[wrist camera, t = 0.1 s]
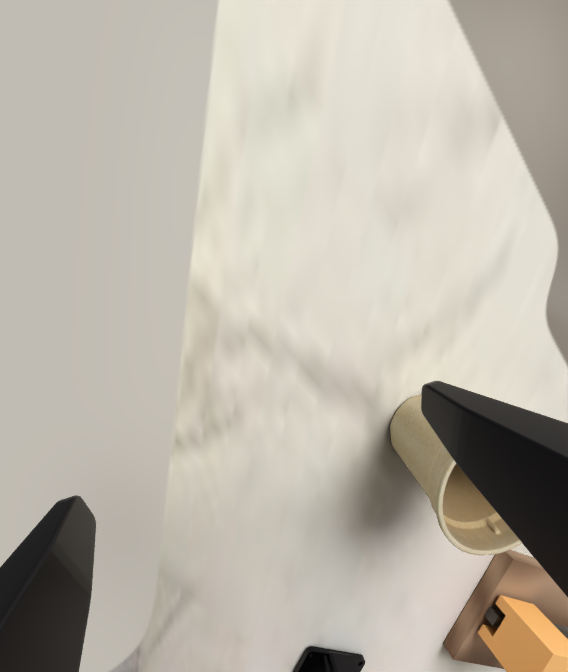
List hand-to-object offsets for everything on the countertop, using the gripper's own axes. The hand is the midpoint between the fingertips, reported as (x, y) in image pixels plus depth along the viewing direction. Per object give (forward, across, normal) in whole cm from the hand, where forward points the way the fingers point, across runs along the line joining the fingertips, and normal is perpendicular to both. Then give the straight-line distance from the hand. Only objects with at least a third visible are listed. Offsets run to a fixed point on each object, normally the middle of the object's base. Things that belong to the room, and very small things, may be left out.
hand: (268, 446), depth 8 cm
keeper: (+5, -19, +37) cm, 42 cm away
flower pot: (+12, -14, +16) cm, 24 cm away
